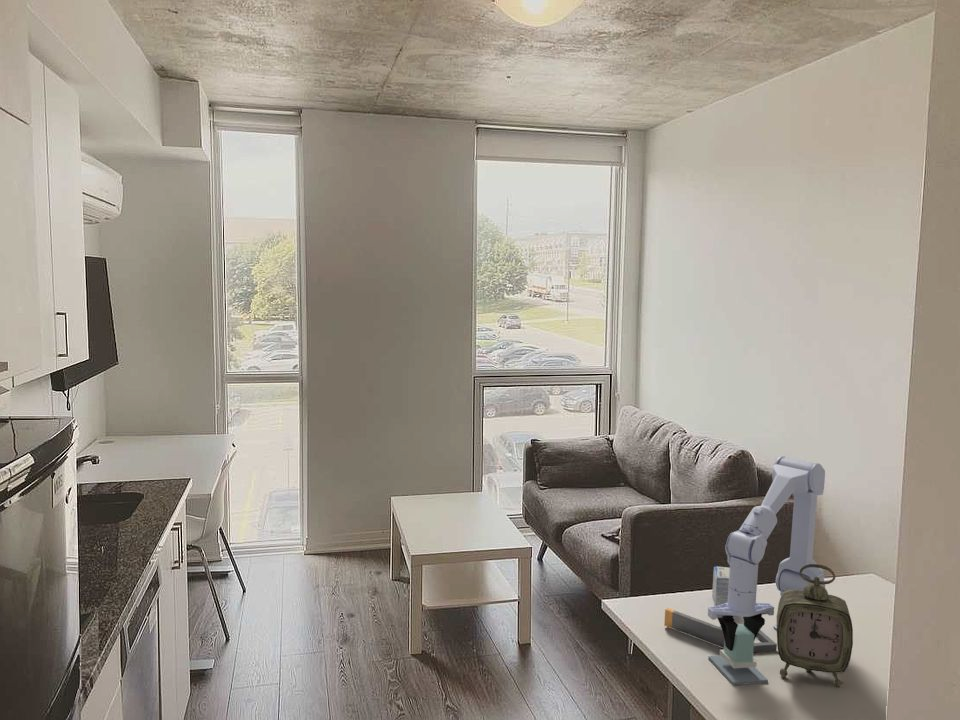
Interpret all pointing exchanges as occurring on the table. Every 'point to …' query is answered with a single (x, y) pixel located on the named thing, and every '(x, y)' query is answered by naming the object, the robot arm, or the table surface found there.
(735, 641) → the plug
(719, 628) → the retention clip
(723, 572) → the medicine box
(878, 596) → the table surface
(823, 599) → the tabletop clock
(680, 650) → the table surface
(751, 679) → the mat
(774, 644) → the dock
